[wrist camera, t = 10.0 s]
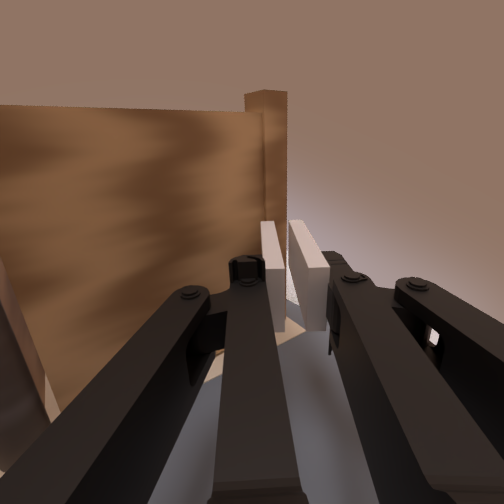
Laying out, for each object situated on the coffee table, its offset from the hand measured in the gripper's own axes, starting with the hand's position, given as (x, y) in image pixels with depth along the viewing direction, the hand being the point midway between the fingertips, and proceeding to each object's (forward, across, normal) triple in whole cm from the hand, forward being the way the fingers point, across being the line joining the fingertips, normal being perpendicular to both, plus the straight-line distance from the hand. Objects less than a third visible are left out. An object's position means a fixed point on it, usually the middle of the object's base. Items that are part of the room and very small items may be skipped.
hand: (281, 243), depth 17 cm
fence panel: (-2, +5, +6) cm, 8 cm away
